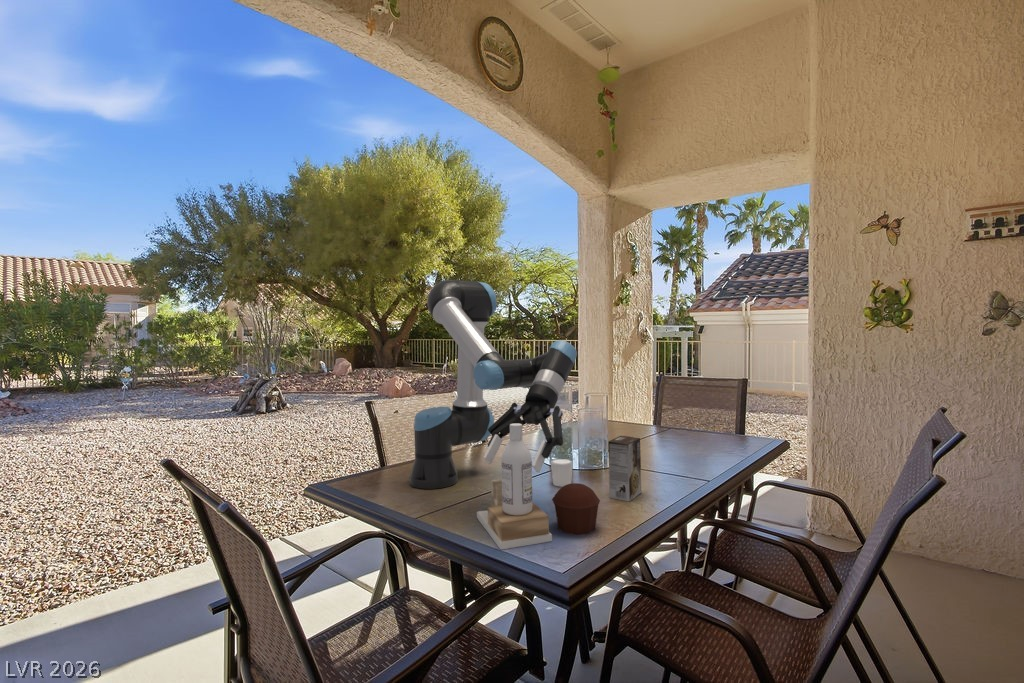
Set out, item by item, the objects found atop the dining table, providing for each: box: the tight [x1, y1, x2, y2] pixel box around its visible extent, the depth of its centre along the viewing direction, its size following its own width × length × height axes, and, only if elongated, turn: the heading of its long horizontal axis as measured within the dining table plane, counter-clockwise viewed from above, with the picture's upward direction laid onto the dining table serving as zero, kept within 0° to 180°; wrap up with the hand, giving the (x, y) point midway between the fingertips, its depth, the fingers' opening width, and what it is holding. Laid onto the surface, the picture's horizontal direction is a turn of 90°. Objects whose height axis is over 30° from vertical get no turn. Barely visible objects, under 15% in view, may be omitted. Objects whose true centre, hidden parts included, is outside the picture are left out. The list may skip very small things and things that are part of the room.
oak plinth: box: [487, 501, 550, 541], centre depth 111 cm, size 11×11×4 cm
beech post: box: [490, 478, 503, 506], centre depth 121 cm, size 5×5×8 cm
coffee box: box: [607, 435, 642, 502], centre depth 138 cm, size 9×6×16 cm
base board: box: [476, 509, 553, 550], centre depth 115 cm, size 20×12×2 cm, turn 19°
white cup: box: [550, 458, 574, 488], centre depth 150 cm, size 7×7×7 cm
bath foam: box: [501, 423, 533, 515], centre depth 111 cm, size 7×7×20 cm
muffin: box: [551, 482, 601, 536], centre depth 115 cm, size 12×11×10 cm
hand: (510, 464), depth 109 cm, fingers open, 13 cm apart
